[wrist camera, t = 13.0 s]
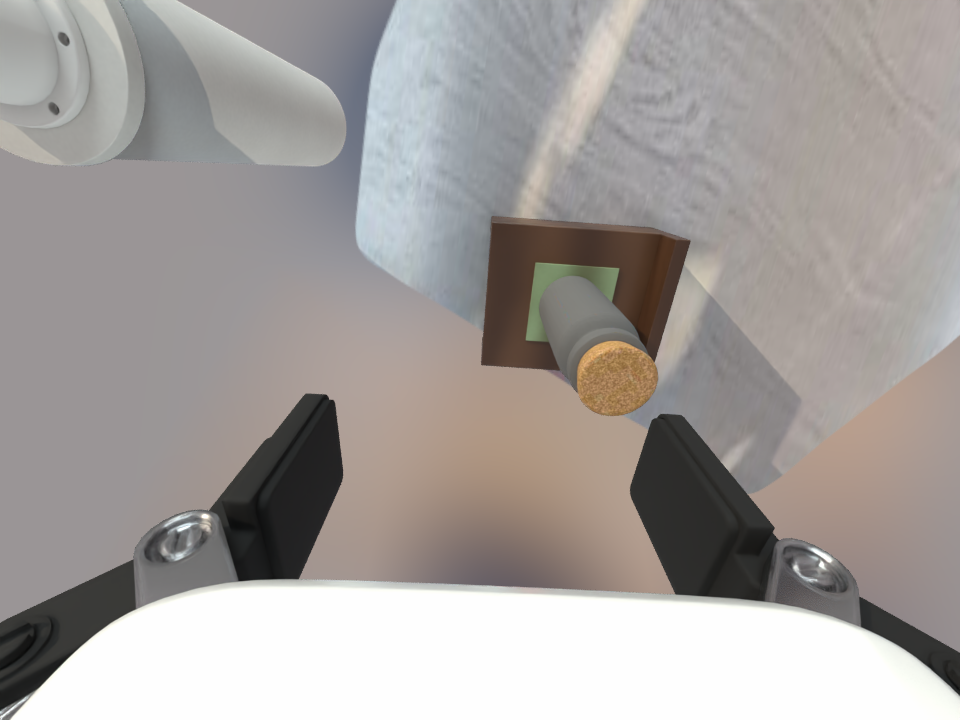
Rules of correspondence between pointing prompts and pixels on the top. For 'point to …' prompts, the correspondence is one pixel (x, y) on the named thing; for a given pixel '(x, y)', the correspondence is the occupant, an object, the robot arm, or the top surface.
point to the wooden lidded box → (574, 252)
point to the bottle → (596, 347)
